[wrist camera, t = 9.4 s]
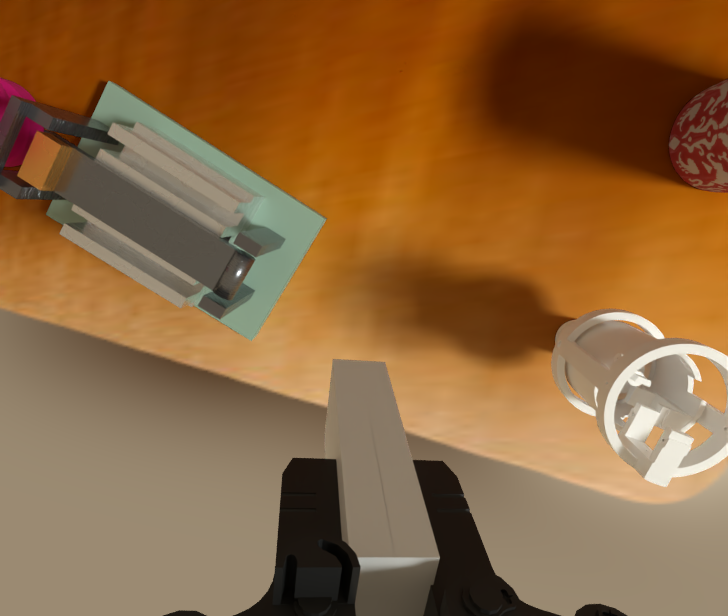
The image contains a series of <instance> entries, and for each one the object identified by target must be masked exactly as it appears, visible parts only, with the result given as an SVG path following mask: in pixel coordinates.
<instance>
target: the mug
mask: <svg viewBox="0 0 728 616" xmlns="http://www.w3.org/2000/svg"><path fill="white" fill-rule="evenodd" d="M669 153H670V158H671V162H672V164H673V167H674V169H675V170H676V172H677V173H678V174H679V176H680V177H681V178H682V179H683V180H684V181H685V182H687V183H689V184H690V185H692V186H694V187H696V188H698V189H701V190H705V191H710V192H728V79H726V80H723V81H721V82H720V83H718V84H715V85H713V86H711V87H709V88H707V89H706V90H704V91H702V92H700V93H699V94H698V95H696V96H695V97H694V98H692V99H691V100H690V101H689V102H688V103H687V104H686V105H685V106H684V107H683V109H682V110H681V111H680V113H679V114H678V116H677V118H676V120H675V122H674V124H673V127H672V130H671V134H670V140H669Z"/></svg>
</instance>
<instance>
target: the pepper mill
mask: <svg viewBox="0 0 728 616" xmlns="http://www.w3.org/2000/svg"><path fill="white" fill-rule="evenodd" d="M12 95H14V96H17V97H21V98H24V99H28V100H31V101H34V102H36V101H35V100H34V98H33V97H32V96H31V95H30V94H29V92H28V91H26V90H25V89H24V88H23V87H21V86H20V85H18V84H16V83H14V82H12V81H9V80H6V79H3V78H0V121H1V119H2V117H3V114H4V112H5V110H6V107H7V105H8V103H9V100H10V98H11V96H12ZM37 131H41V132H44V127H42V126H41V125H39V124H37V123H36V122H34V121H33V120H31V119H30V118H28V117H26V118H25V120H24V123H23V125H22V127H21V129H20V132H19V134H18V136H17V139H16V141H15V143H14V145H13V148H12V150H11V152H10V154H9V157H8V159H7V161H6V164H5V167H14V166H18V165H22V163H23V161H24V159H25V157H26V154H27V152H28V150H29V148H30V146H31V143H32V141H33V139H34V137H35V134H36V132H37Z"/></svg>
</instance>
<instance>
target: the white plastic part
mask: <svg viewBox="0 0 728 616" xmlns="http://www.w3.org/2000/svg"><path fill="white" fill-rule="evenodd" d="M615 320H625V321H630V322H634V323H636V324H637V325H638V326H640V327H641V328H642V329H643V330H644V331H645V332H643V331H641V330H639V329H637V328H635V327H633V326H631V325H629V324H626V323H624V322H620V321H615ZM686 354H695V355H700V356H704V357H706V358H707V359H709V360H710V361H711V362H712V363H713V364H714V365H715V366H716V367H717V369H718V370H719V371H720V373H721V375H722V377H723V379H724V382H725V385H726V390H727V405H726V410H725V413H723V412H721V411H719V410H718V409H716V408H715V407H713V406H711V405H710V404H708V403H707V402H705V401H704V400H702V399H701V398H699V397H697V396H696V395H694V394H693V393H692V392H693V385H694V380H693V378H694V379H696V380H698V381H701V376H700V373H699V370H698V368H697V366H696V365H695V363H694V362H693V361H692V359H691V358H690V357H689V356H688V355H686ZM551 366H552V374H553V378H554V381H555V383H556V385H557V387H558V388H559V390H560V391H561V393H562V394H563V395H564V396H565V397H566V398H567V399H568V400H569V402H570V403H571V404H573V405H574V406H575V407H576V408H578V409H579V410H581V411H583V412H585V413H587V414H590V415H593V416H596V420H597V424H598V427H599V430H600V432H601V434H602V436H603V437H604V439H605V440H606V442H607V443H608V444H609V445H610V446H611V448H612V449H613V450H614V451H615V452H616V453H617V454H618V455H619V456H620V457H621V458H622V459H623V460H624V461H625V462H626V463H627V464H629V465H630V466H632V467H633V468H635V469H636V470H637V471H638V473H639V474H640V475H641V476H642V477H643V478H644V479H646V480H647V481H649V482H652V483H655V484H657V485H660V486H663V487H667V485H668V483H669V482H670V480H671V478H672V477H682V476H688V475H692V474H696V473H699V472H701V471H704V470H706V469H708V468H710V467H712V466H714V465H716V464H717V463H719V462H720V461H722V460H723V459H724V458H725V457H727V456H728V357H727V356H726V355H724V354H723V353H721V352H719V351H717V350H715V349H712V348H710V347H708V346H706V345H703V344H701V343H699V342H696V341H692V340H688V339H682V338H664V336H663V334H662V333H661V332H660V330H659V329H658V328H657V327H656V326H655V325H654V324H652V323H651V322H650V321H648V320H646V319H644V318H642V317H640V316H638V315H636V314H633V313H631V312H628V311H625V310H620V309H601V310H596V311H593V312H590V313H587V314H585V315H583V316H581V317H579V318H578V319H576V320H571V321H568V322H566V323H564V324H563V325H562V326H561V327H560V328H559V329H558V331H557V333H556V336H555V347H554V350H553V354H552V361H551ZM565 376H566V378H565ZM566 379H567V381H568V382H569V384H570V385H571V387H572V388H573V389H574V390H575V391H576V392H577V393H578V394H579V395H580V396H581V397H582V398H583V399H584V400H585V401H584V400H582V399H580V398H578V397H576V396H575V395H574V394H573V393H572V392H571V390H570V389H569V387H568V384H567V382H566ZM701 382H702V381H701ZM625 417H629V418H628V419H627V421H626V423H625V422H624V421H623V420H624V418H625ZM696 422H698V423H699V424H701V425H702V426H704V427H705V428H706V429H708V430H709V431H711V432H712V433H713V434H712V435H711V436H710V437H709V438H708V439H707V440H706V441H705V442H704V443H702V444H701V445H700V446H698V447H697V448H695V449H693V450H691V451H690V449H691V446H690V445H691V444H692V442H693V440H694V439H693V438H692V437H691V436H690V435H688V434H686V433H685V432H686V431H687V430H689V429H690V428H691V427H692V426H693V425H694V424H695V423H696ZM653 426H657V427H659V428H661V429H664V432H663V434H662V435H661V437H660V439H659V441H658V442H657V444H656V446H655V448H654V450H652V449H651V448H650V447H649V446H647V445H646V444H645V441H646V439H647V437H648V435H649V434H650V432H651V430H652V428H653ZM616 429H617V430H619V431H620V432H619V434H618V435H617V432H616Z"/></svg>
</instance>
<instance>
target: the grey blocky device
mask: <svg viewBox="0 0 728 616" xmlns="http://www.w3.org/2000/svg"><path fill="white" fill-rule="evenodd" d="M26 117H28V118H30V119H31V120H33V121H34V122H36V123H37V124H39V125H41V126H42V127H44V128H45V129H47V130H50V131H55V132H59V133H64V134H68V135H73V136H77V137H82V138H86V139H91V140H95V141H100V142H104V143H109V144H113V145H118V143H119V142H121V143H122V144H124V145H125V146H124V148H123V150H122V152H116V151H111V150H106V149H101V148H100V150H99V152H98V154H97V157H96V159H97V160H99V161H100V162H102V163H104V164H105V165H107V166H108V167H110V168H112V169H113V170H115V171H116V172H118V173H120V174H121V175H123V176H124V177H126V178H128V179H129V180H131V181H132V182H134V183H135V184H137V185H139V186H140V187H142V188H143V189H145V190H147V191H148V192H150V193H151V194H153V195H154V196H156V197H158V198H159V199H161V200H162V201H164V202H166V203H167V204H169V205H170V206H172V207H174V208H175V209H177V210H178V211H180V212H181V213H183V214H185V215H186V216H188V217H189V218H191V219H193V220H194V221H196V222H197V223H199V224H200V225H202V226H204V227H205V228H207V229H208V230H210V231H212V232H213V233H215V234H216V235H218V236H220V237H221V238H223V239H224V240H226V241H227V242H229V243H231V244H232V245H234V246H235V247H237V246H238V247H240V248H241V249H243V250H244V251H246V252H248V253H249V254H251V255H252V256H254V257H258V256H261V255H264V254H266V253H269V252H272V251H274V250H277V249H280V248H281V246H282V245H283V243H284V241H285V240H286V239H285V238H283V237H282V236H280V235H279V234H277V233H275V232H274V231H272V230H271V229H269V228H268V227H266V228H260V229H254V230H248V231H246V230H247V229H248V227H249V225H250V223H251V222H252V220H253V218H254V216H255V215H256V213H257V211H258V209H259V207H260V206H261V204H262V202H263V200H264V199H265V197H264V196H263V195H261V194H259V193H258V192H256V191H255V190H253V189H252V188H250V187H248V186H247V185H245V184H244V183H242V182H241V181H239V180H237V179H236V178H234V177H233V176H231V175H230V174H228V173H226V172H225V171H223V170H222V169H220V168H219V167H217V166H216V165H214V164H212V163H211V162H209V161H208V160H206V159H205V158H203V157H201V156H200V155H198V154H197V153H195V152H194V151H192V150H190V149H189V148H187V147H186V146H184V145H183V144H181V143H179V142H178V141H176V140H175V139H173V138H172V137H170V136H168V135H167V134H165V133H164V132H162V131H161V130H159V129H157V128H154V127H151V126H148V125H145V124H142V123H139V122H136V124H135V126H134V128H130V127H127V126H124V125H120V124H117V123H114V122H113V123H112V125H111V127H108V126H106V125H105V124H103V123H102V122H100V121H98V120H96V119H92V118H89V117H85V116H82V115H79V114H75V113H72V112H68V111H65V110H62V109H58V108H55V107H51V106H48V105H45V104H41V103H38V102H34V101H31V100H28V99H24V98H21V97H17V96H14V95H12V96H11V98H10V100H9V103H8V105H7V107H6V110H5V112H4V114H3V117H2V119H1V121H0V189H1V190H3V191H4V192H6V193H8V194H9V195H11V196H13V197H14V198H16V199H44V200H67V199H65V198H63V197H62V196H60V195H59V194H57V193H55V192H54V191H41V190H39V189H37V188H36V187H34V186H33V185H31V184H29V183H28V182H26V181H25V180H23V179H21V178H20V177H18V176H17V175H18V172H19V171H11V170H3V168H4V166H5V164H6V161H7V159H8V157H9V154H10V152H11V150H12V148H13V145H14V143H15V141H16V139H17V136H18V134H19V132H20V129H21V127H22V125H23V123H24V120H25V118H26ZM71 210H72V211H74V212H75V213H77V214H79V215H80V216H82V217H83V218H85V219H87V220H88V221H87V222H79V223H64V225H63V227H62V229H61V232H60V235H62V236H64V237H65V238H67V239H69V240H70V241H72V242H73V243H75V244H77V245H78V246H80V247H82V248H83V249H85V250H86V251H88V252H90V253H91V254H93V255H95V256H96V257H98V258H100V259H101V260H103V261H104V262H106V263H108V264H109V265H111V266H113V267H114V268H116V269H117V270H119V271H121V272H122V273H124V274H126V275H127V276H129V277H131V278H132V279H134V280H135V281H137V282H139V283H140V284H142V285H144V286H145V287H147V288H148V289H150V290H152V291H153V292H155V293H157V294H158V295H160V296H162V297H163V298H165V299H166V300H168V301H170V302H171V303H173V304H175V305H176V306H178V307H179V308H182V307H184V306H186V305H189V306H191V307H193V306H195V305H197V304H198V306H199V307H200V308H202V309H203V310H205V311H207V312H208V313H210V314H212V315H213V316H215V317H216V318H218V319H221V318H223V317H224V316H226V315H227V314H229V313H230V312H232V311H233V310H235V309H236V308H238V307H239V306H241V305H242V304H244V303H246V302H247V301H249V300H250V299H251V297H252V296H253V294H254V292H255V290H253V289H252V288H250V287H249V286H247V285H245V284H244V283H242V284H241V286H240V288H239V289H238V291H237V293H236V295H235V296H234V298H233V300H226V299H223V298H221V297H219V296H218V295H216V294H215V293H214V292H213V291H212V290H211V289H209V288H208V287H206V286H205V285H203V284H201V283H200V282H198V281H197V280H195V279H193V278H192V277H190V276H189V275H187V274H185V273H184V272H182V271H180V270H179V269H177V268H176V267H174V266H172V265H171V264H169V263H168V262H166V261H164V260H163V259H161V258H160V257H158V256H156V255H155V254H153V253H152V252H150V251H148V250H147V249H145V248H144V247H142V246H140V245H139V244H137V243H136V242H134V241H132V240H131V239H129V238H128V237H126V236H124V235H123V234H121V233H120V232H118V231H116V230H115V229H113V228H111V227H110V226H108V225H107V224H105V223H103V222H102V221H100V220H99V219H97V218H95V217H94V216H92V215H91V214H89V213H87V212H86V211H84V210H83V209H81V208H79V207H78V206H76V205H75V204H73V207H72V209H71Z"/></svg>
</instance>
